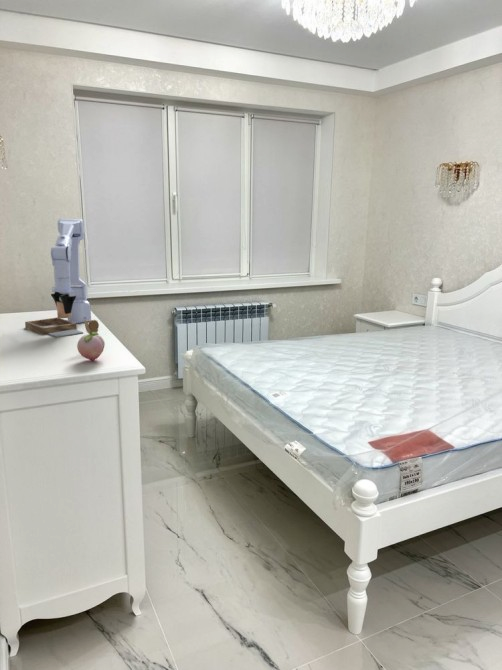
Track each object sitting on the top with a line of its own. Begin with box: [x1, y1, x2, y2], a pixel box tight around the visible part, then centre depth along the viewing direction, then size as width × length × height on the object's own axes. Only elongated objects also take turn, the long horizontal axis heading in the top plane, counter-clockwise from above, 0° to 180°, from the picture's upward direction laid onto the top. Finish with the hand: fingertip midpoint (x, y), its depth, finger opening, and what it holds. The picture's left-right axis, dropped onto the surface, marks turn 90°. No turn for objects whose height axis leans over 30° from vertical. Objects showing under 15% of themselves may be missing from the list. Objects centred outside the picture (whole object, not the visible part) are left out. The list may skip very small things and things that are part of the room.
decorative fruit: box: [76, 331, 106, 362], centre depth 162 cm, size 9×8×10 cm
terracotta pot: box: [56, 295, 72, 319], centre depth 195 cm, size 5×5×9 cm
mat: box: [47, 329, 84, 339], centre depth 197 cm, size 11×7×1 cm, turn 137°
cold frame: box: [24, 316, 78, 335], centre depth 205 cm, size 14×16×2 cm
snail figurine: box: [83, 317, 100, 334], centre depth 176 cm, size 5×6×12 cm
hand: (64, 312), depth 195 cm, fingers closed on terracotta pot, 5 cm apart
